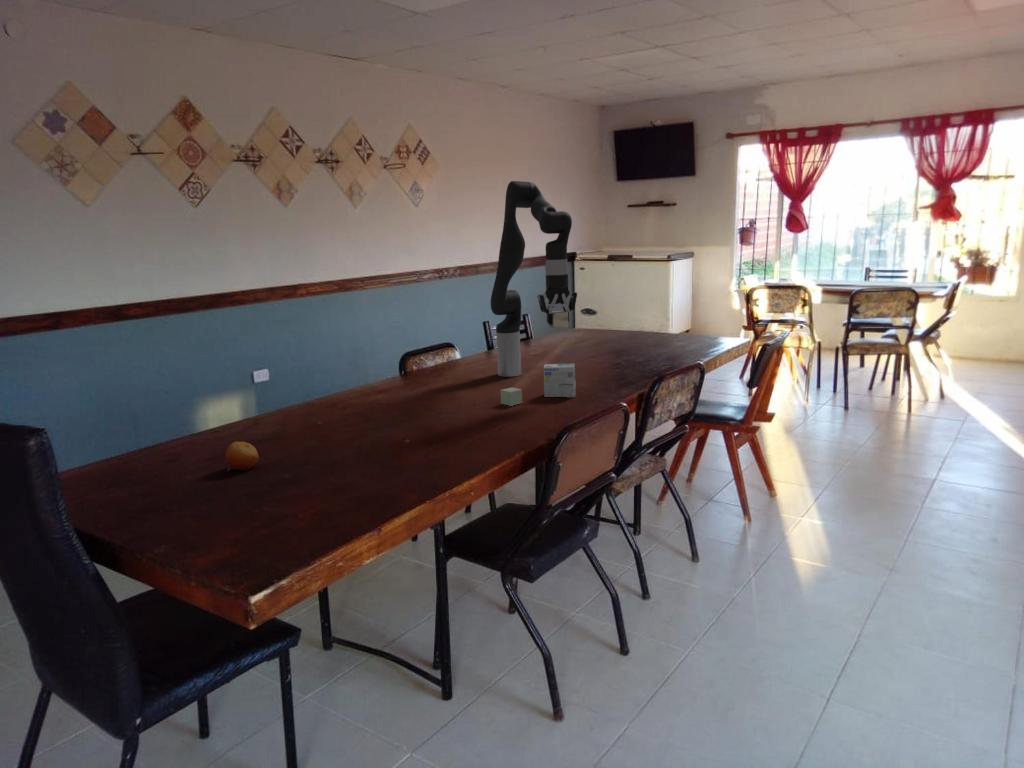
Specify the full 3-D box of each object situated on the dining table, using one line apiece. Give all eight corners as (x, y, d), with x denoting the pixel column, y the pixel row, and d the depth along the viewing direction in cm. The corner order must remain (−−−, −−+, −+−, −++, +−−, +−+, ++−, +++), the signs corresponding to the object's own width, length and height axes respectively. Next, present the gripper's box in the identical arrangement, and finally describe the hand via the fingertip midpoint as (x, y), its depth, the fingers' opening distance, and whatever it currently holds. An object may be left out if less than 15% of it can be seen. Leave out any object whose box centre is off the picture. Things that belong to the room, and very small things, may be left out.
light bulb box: (575, 393, 258) (575, 362, 256) (575, 397, 251) (574, 366, 249) (545, 393, 259) (544, 363, 257) (543, 398, 252) (543, 367, 250)
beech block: (548, 326, 252) (548, 311, 250) (561, 325, 253) (561, 310, 252) (554, 328, 247) (554, 313, 246) (568, 327, 249) (567, 312, 248)
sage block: (501, 404, 246) (500, 389, 245) (512, 401, 249) (511, 387, 248) (510, 407, 242) (510, 392, 241) (522, 404, 246) (521, 389, 244)
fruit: (226, 458, 193) (239, 433, 191) (253, 473, 193) (266, 447, 192) (213, 468, 185) (226, 442, 183) (241, 483, 185) (255, 457, 184)
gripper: (571, 271, 252) (572, 321, 256) (532, 274, 247) (534, 324, 251) (581, 272, 245) (582, 323, 249) (541, 275, 240) (543, 327, 244)
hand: (558, 323), depth 250 cm, fingers closed on beech block, 5 cm apart
